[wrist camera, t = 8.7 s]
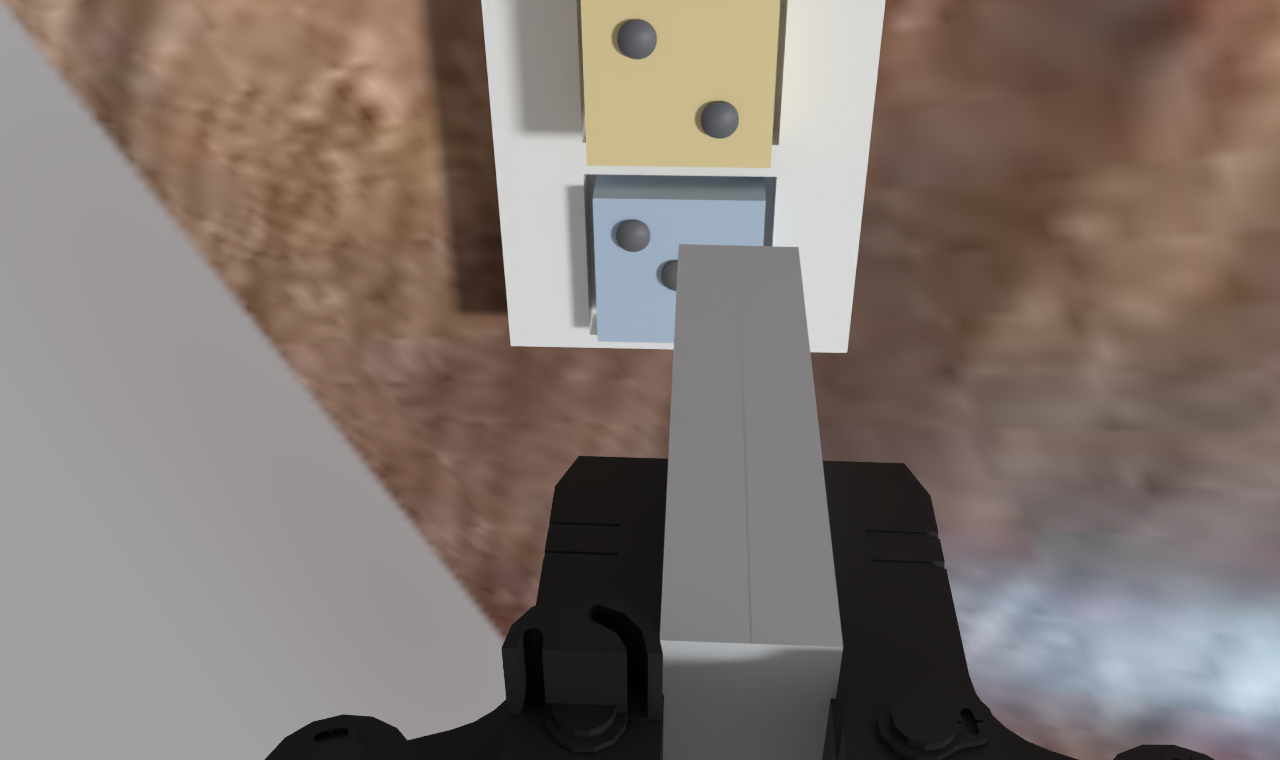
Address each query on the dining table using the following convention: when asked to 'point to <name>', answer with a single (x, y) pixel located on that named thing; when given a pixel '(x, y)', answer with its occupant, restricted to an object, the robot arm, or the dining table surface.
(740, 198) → the tile three
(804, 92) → the panel
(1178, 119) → the dining table surface
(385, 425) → the dining table surface
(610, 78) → the tile two
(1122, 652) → the dining table surface
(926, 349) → the dining table surface
